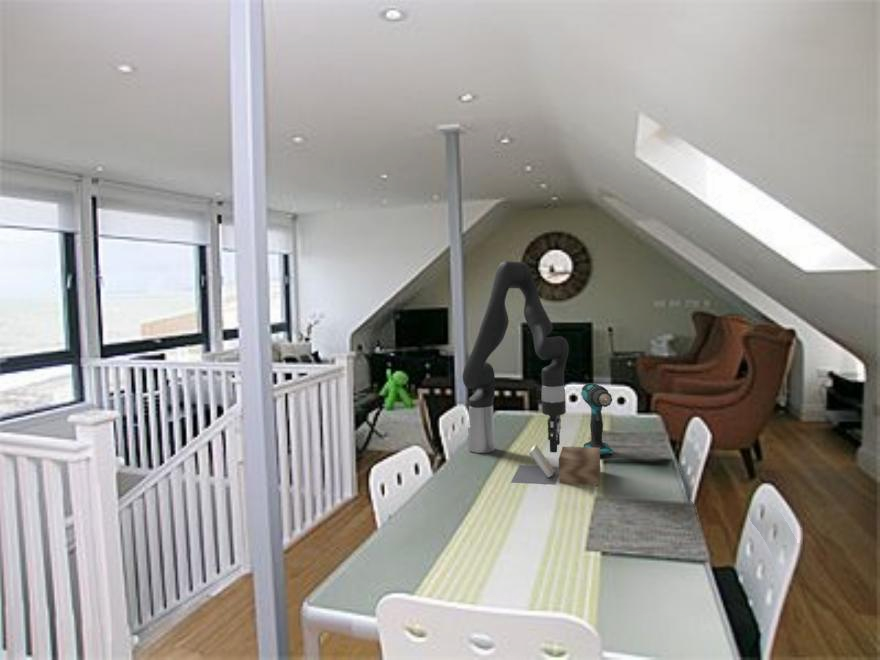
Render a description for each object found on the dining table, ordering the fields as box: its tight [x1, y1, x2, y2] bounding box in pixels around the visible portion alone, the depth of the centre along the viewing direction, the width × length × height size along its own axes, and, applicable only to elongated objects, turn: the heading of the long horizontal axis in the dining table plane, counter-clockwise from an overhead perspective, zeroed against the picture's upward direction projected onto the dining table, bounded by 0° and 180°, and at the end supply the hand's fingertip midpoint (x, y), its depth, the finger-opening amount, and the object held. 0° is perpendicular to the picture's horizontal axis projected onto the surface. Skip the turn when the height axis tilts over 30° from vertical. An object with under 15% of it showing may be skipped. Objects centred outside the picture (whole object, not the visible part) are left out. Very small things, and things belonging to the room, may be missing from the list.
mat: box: [510, 464, 559, 486], centre depth 203 cm, size 14×18×1 cm
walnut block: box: [558, 446, 601, 487], centre depth 199 cm, size 12×14×8 cm
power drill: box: [580, 382, 613, 455], centre depth 223 cm, size 26×9×25 cm, turn 179°
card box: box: [529, 444, 554, 478], centre depth 202 cm, size 10×6×2 cm
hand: (555, 448), depth 201 cm, fingers open, 8 cm apart
